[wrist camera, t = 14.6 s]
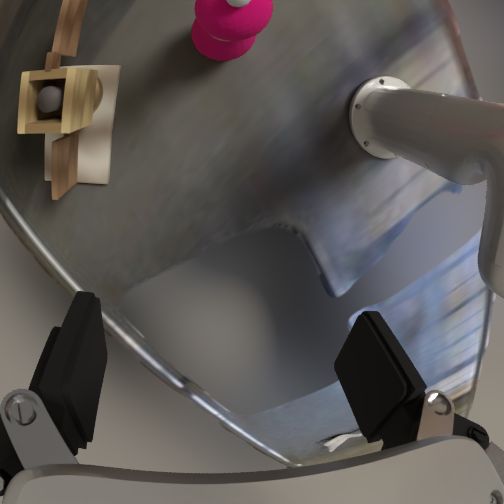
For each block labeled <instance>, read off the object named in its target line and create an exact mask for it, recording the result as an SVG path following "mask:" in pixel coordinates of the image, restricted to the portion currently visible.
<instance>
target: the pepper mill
mask: <svg viewBox="0 0 504 504" xmlns="http://www.w3.org/2000/svg"><path fill="white" fill-rule="evenodd" d="M272 12H273V3H272V0H196V2H195V15H196V19H195V21H194V23H193V26H192V32H191V35H192V40H193V43H194V45H195V47H196V48H197V50H198V51H199V52H200V53H201V54H203V55H204V56H206V57H208V58H211V59H214V60H219V61H227V60H232V59H236V58H238V57H240V56H242V55H243V54H245V53H246V52H247V51H248V50H249V49H250V48H251V46H252V45H253V43H254V41H255V38H256V34H258V33H259V32H261V31H262V30H263V29H264V28H265V27H266V26H267V24H268V22H269V21H270V18H271V16H272Z"/></svg>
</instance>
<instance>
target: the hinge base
mask: <svg viewBox="0 0 504 504" xmlns="http://www.w3.org/2000/svg"><path fill="white" fill-rule="evenodd" d="M62 68H84V69H93V70H98V76H97V83H96V91H95V99H94V108H93V117H92V124H91V125H89V126H86V127H83V128H81V129H79V130H76V131H74V132H71V133H45V180H46V181H52V200H58V199H59V198H61V197H62V196H63V195H64V194H65V193H66V192H67V191H68V190H69V189H70V188H71V187H73V186H74V185H75V184H76V183H77V182H83V183H97V184H108V183H109V175H110V157H111V144H112V132H113V122H114V113H115V105H116V97H117V90H118V83H119V77H120V71H121V66H120V65H87V66H64V67H60V68H59V69H62ZM65 83H66V79H59V80H56V85H55V86H48V87H45V88H43V89H42V90H41V91H40V93H39V95H38V98H37V105H38V108H39V109H40V110H41V111H42V112H45V113H48V112H52V111H53V116H62V111H63V100H64V91H65Z"/></svg>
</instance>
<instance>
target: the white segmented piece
mask: <svg viewBox="0 0 504 504" xmlns="http://www.w3.org/2000/svg"><path fill="white" fill-rule="evenodd" d="M357 436H362V433H358V434H343V435H340V436H337V437H335V438H333V439H331V440H329V441H327V442H326V443H324V444H323V446H327V447H328V449H329V452H332V451H333V450H334V449H336V448H337V447H338V446H339V445H340V444H341V443H343V442H344V441H345V440H346V439H348V438H350V437H357Z"/></svg>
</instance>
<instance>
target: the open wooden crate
mask: <svg viewBox="0 0 504 504" xmlns="http://www.w3.org/2000/svg"><path fill="white" fill-rule="evenodd" d="M87 2H88V0H63V3H62V7H61V10H60V14H59V19H58V23H57V27H56V32H55V37H54V42H53V48H52V52H47V57H46V64H45V70H38V71H29V72H22V78H21V86H20V97H19V110H18V134H30V133H71V132H74V131H76V130H79V129H81V128H83V127H86V126H89V125H91V124H92V117H93V108H94V99H95V91H96V83H97V76H98V70H93V69H84V68H62V69H59V68H60V62H61V56H66V57H76V51H77V46H78V41H79V36H80V31H81V26H82V22H83V18H84V13H85V9H86V5H87ZM59 79H66V83H65V91H64V100H63V111H62V116H53V111H52V112H48V113H45V112H42V111H41V110H40V109H39V108H38V105H37V98H38V95H39V93H40V91H41V90H42V89H43V88H45V87H48V86H55V85H56V80H59Z"/></svg>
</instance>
